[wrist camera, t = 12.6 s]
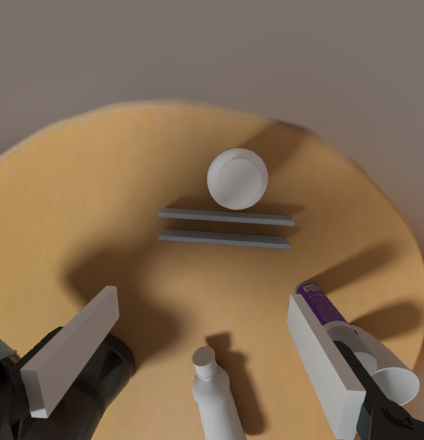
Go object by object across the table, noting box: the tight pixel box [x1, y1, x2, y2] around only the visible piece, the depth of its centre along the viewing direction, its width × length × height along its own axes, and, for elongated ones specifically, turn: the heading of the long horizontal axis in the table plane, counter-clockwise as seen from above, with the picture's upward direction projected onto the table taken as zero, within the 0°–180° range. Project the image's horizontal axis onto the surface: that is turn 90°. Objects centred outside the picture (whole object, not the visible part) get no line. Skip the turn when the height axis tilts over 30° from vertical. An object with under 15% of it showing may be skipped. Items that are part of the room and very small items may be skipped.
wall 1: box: [158, 208, 295, 226], centre depth 33 cm, size 22×1×4 cm, turn 87°
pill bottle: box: [207, 148, 268, 210], centre depth 27 cm, size 8×7×14 cm
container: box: [295, 282, 377, 376], centre depth 31 cm, size 5×5×15 cm
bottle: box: [192, 346, 247, 440], centre depth 42 cm, size 9×9×30 cm
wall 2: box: [158, 229, 291, 249], centre depth 34 cm, size 22×1×4 cm, turn 87°
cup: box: [350, 325, 420, 406], centre depth 35 cm, size 8×8×10 cm
